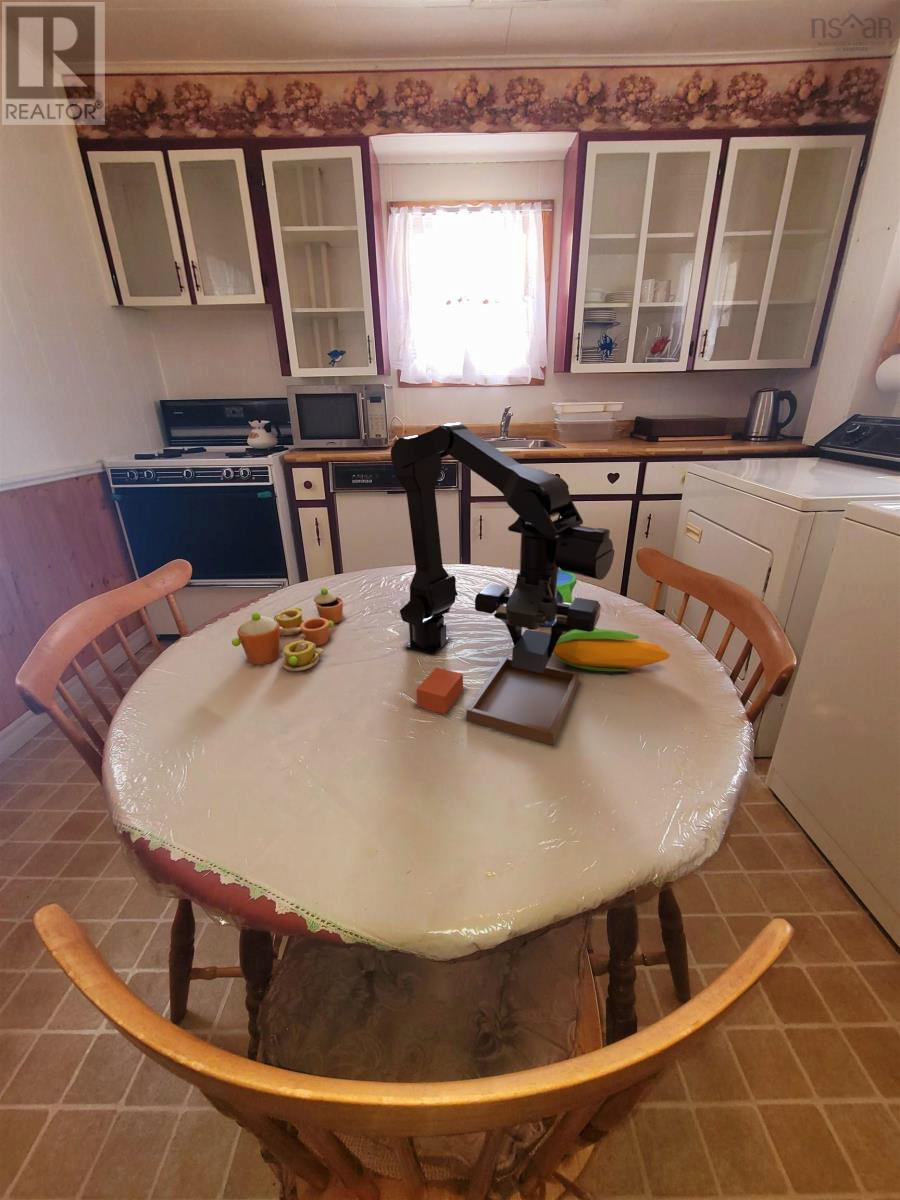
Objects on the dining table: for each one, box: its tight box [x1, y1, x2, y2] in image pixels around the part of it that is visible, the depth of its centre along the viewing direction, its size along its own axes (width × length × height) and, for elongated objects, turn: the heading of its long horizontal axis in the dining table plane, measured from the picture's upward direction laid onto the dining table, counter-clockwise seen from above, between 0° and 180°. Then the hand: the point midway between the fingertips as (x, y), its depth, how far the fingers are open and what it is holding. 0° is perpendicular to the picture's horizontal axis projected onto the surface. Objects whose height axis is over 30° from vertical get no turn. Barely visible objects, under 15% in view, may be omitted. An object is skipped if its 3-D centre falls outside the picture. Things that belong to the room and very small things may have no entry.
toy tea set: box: [231, 587, 344, 672], centre depth 97 cm, size 26×16×10 cm, turn 173°
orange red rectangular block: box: [416, 666, 464, 715], centre depth 80 cm, size 5×7×3 cm
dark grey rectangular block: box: [511, 628, 554, 673], centre depth 79 cm, size 5×7×3 cm
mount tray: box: [466, 656, 580, 746], centre depth 79 cm, size 14×17×2 cm
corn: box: [553, 627, 671, 672], centre depth 86 cm, size 7×8×20 cm
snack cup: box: [540, 568, 578, 627], centre depth 103 cm, size 16×10×10 cm
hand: (533, 653), depth 79 cm, fingers closed on dark grey rectangular block, 5 cm apart
